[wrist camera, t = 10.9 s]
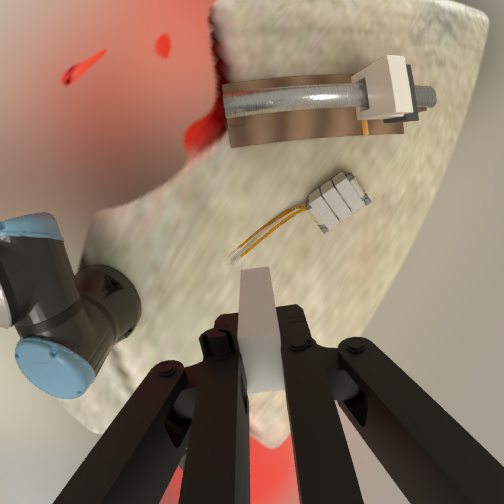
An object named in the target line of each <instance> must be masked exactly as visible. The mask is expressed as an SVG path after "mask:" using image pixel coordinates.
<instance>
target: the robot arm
mask: <svg viewBox="0 0 504 504" xmlns="http://www.w3.org/2000/svg"><path fill="white" fill-rule="evenodd" d="M63 242H64V239H63V238H62V237H61V234H60V231H59V228H58V225H57V222H56V220H55V218H54V217H53V216H52V215H51V214H49V213H46V212H42V213H35V214H30V215H25V216H21V217H17V218H13V219H9V220H6V221H4V222H0V327H2V328H5V329H8V328H10V327H12V326H13V325H14V326H15V328H16V330H17V332H18V334H19V336H20V338H21V340H20V341H19V342H18V343H17V346H16V349H15V359H16V362H17V364H18V366H19V368H20V370H21V371H22V373H23V374H24V375H25V377H26V378H27V379H28V380H29V381H30V382H31V383H33V384H34V385H35V386H36V387H38V388H39V389H41V390H42V391H44V392H46V393H48V394H50V395H52V396H55V397H58V398H62V399H74V398H77V397H80V396H81V395H83V394H84V393H85V392H86V390H87V389H88V387H89V386H90V384H92V383H93V382H94V380H95V378H96V376H97V374H98V372H99V370H100V368H101V367H102V365H103V363H104V361H105V359H106V358H107V356H108V354H109V352H110V350H111V349H112V347H113V345H115V344H117V343H118V342H120V341H122V340H123V339H125V338H127V337H128V336H129V335H130V334H131V333H132V332H133V331H134V329H135V327H136V326H137V324H138V322H139V320H140V316H141V304H140V299H139V296H138V294H137V292H136V290H135V288H134V286H133V285H132V284H131V282H130V281H129V280H128V279H127V278H126V277H125V276H124V275H122V274H121V273H120V272H118V271H117V270H115V269H113V268H110V267H107V266H103V265H91V266H88V267H85V268H83V269H82V270H80V271H79V272H78V273H77V274H76V275H75V276H74V273H73V271H72V268H71V265H70V262H69V259H68V256H67V253H66V250H65V247H64V243H63ZM199 341H200V345H201V349H202V352H203V356H204V357H203V361H202V362H200V363H198V364H195V365H192V366H189V367H185V368H184V366H183V364H182V363H181V362H179V361H175V360H167V361H163V362H160V363H159V364H157V365H155V366H154V367H153V368H152V369H151V370H150V372H149V373H148V374H147V376H146V377H145V378H144V380H143V381H142V382H141V384H140V385H139V386H138V388H137V389H136V390H135V392H134V393H133V394H132V396H131V397H130V399H129V400H128V401H127V403H126V404H125V405H124V407H123V408H122V409H121V411H120V412H119V413H118V415H117V416H116V417H115V419H114V420H113V422H112V423H111V424H110V426H109V427H108V428H107V430H106V431H105V432H104V434H103V435H102V437H101V438H100V439H99V441H98V442H97V443H96V445H95V446H94V447H93V449H92V450H91V452H90V453H89V454H88V456H87V457H86V458H85V460H84V461H83V462H82V464H81V465H80V467H79V468H78V469H77V471H76V472H75V473H74V475H73V476H72V478H71V479H70V480H69V482H68V483H67V485H66V486H65V487H64V489H63V490H62V491H61V493H60V494H59V496H58V497H57V498H56V500H55V501H54V503H53V504H159V502H160V500H161V498H162V496H163V495H164V493H165V491H166V489H167V487H168V485H169V482H170V481H171V479H172V477H173V475H174V472H175V470H176V469H177V467H178V465H179V462H180V460H181V458H182V456H183V454H184V452H185V450H186V448H187V453H186V459H185V465H184V471H183V478H182V484H181V490H180V497H179V503H178V504H250V447H249V400H248V396H247V389H248V394H250V393H259V392H268V391H276V390H284V389H285V391H286V400H287V410H288V415H289V422H290V430H291V437H292V444H293V453H294V460H295V467H296V476H297V483H298V492H299V500H300V504H364V502H363V499H362V495H361V491H360V488H359V484H358V480H357V477H356V473H355V470H354V466H353V462H352V459H351V455H350V452H349V448H348V445H347V441H346V438H345V435H344V431H343V428H342V424H341V421H340V418H339V414H338V411H337V407H336V404H335V401H334V400H337V402H338V405H339V406H340V407H341V409H342V410H343V412H344V413H345V414H346V416H347V417H348V419H349V420H350V421H351V423H352V424H353V426H354V427H355V428H356V430H357V431H358V432H359V434H360V435H361V437H362V438H363V439H364V441H365V442H366V444H367V445H368V446H369V448H370V449H371V450H372V452H373V453H374V454H375V456H376V457H377V459H378V460H379V461H380V463H381V464H382V465H383V466H384V468H385V469H386V471H387V472H388V474H389V475H390V476H391V478H392V479H393V480H394V482H395V483H396V484H397V486H398V487H399V489H400V490H401V491H402V492H403V494H404V495H405V497H406V498H407V499H408V501H409V502H410V503H411V504H504V467H503V466H502V465H501V464H500V463H499V462H498V461H497V460H496V459H495V458H494V457H493V456H492V455H491V454H490V453H489V452H488V451H487V450H486V449H485V448H484V447H483V446H482V445H481V444H480V443H478V442H477V441H476V440H475V439H474V438H473V437H472V436H471V435H470V434H469V433H468V432H467V431H466V430H465V429H464V428H463V427H462V426H461V425H460V424H459V423H458V422H456V420H455V419H453V418H452V417H451V416H450V415H449V414H448V413H447V412H446V411H445V410H444V409H443V408H442V407H441V406H440V405H439V404H438V403H437V402H436V401H434V400H433V399H432V398H431V397H430V396H429V395H428V394H427V393H426V392H425V391H424V390H423V389H422V388H421V387H420V386H419V385H418V384H417V383H415V382H414V381H413V380H412V379H411V378H410V377H409V376H408V375H407V374H406V373H405V372H404V371H403V370H402V369H401V368H399V367H398V366H397V365H396V364H395V363H394V362H393V361H392V360H391V359H390V358H389V357H388V356H387V355H386V354H384V353H383V352H382V351H381V350H380V349H379V348H378V347H377V346H376V345H375V344H374V343H373V342H372V341H370V340H368V339H366V338H362V337H351V338H347V339H345V340H343V341H341V343H340V344H339V345H338V348H327V347H322V346H320V345H318V344H317V343H316V341H315V340H314V339H313V338H312V337H311V333H310V330H309V327H308V324H307V321H306V318H305V314H304V311H303V309H302V308H301V307H300V306H298V305H297V304H295V305H288V306H280V307H275V301H274V295H273V289H272V282H271V276H270V271H269V267H262V268H255V269H247V270H241V279H240V297H239V313H231V314H222V315H220V316H219V317H218V318H217V319H216V320H215V324H214V328H212V329H210V330H207V331H205V332H204V333H203V334H201V336H200V337H199ZM187 446H188V447H187Z"/></svg>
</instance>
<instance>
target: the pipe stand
mask: <svg viewBox="0 0 504 504" xmlns="http://www.w3.org/2000/svg"><path fill="white" fill-rule="evenodd" d="M353 75H355V74H335V75H310V76H294V77H281V78H271V79H261V80H253V81H245V82H237V83H230V84H224V85H222V88H223V94H229V93H236V92H243V91H251V90H259V89H268V88H278V87H289V86H302V85H319V84H352V80H351V77H352V76H353ZM417 109H418V112H420V111H427V108H426V107H417ZM227 123H228V130H229V137H230V144H231V148H235V147H242V146H250V145H257V144H265V143H273V142H282V141H292V140H302V139H313V138H325V137H339V136H355V135H378V134H404V128H403V122H398V123H383V119H372V120H357V114H356V107H338V108H320V109H305V110H293V111H283V112H273V113H264V114H256V115H248V116H241V117H234V118H227Z"/></svg>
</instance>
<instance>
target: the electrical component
mask: <svg viewBox="0 0 504 504" xmlns="http://www.w3.org/2000/svg"><path fill="white" fill-rule="evenodd" d="M332 180H333V182H332V181H331V180H329V181H328V182H326V183H325V184H323V185H322V186H321V187H320V189H321V190H320V189H319V188H318V189H316V190H315V191H313V192H312V193H311V194H309V195H308V196H309V199H308V201H307V204H306V206H299V207H296V208H294V209H291V210H288V211H285V212H284V213H282V214H281V215H279V216H278V217H276V218H275V219H273V220H272V221H270V222H269V223H270V224H271V223H273V222H274V221H276V220H278V219H279V218H281V217H283V216H285V215H286V214H288V213H290V212H292V211H293V210H295V209H297V208H301V210H299V211H296V212H294V213H292V214H291V215H290V216H288V217H287V218H286V219H284V220H283V221H281V222H280V223H279V224H277V225H276V226H275V227H273V228H272V229H271V230H269V231H268V232H267V233H266V234H265V235H264V236H262V237H261V238H260V239H259V240H258V241H257V242H255V243H254V244H253V245H252V246H251V247H250V248H248V249H247V250H246V251H245V252H244V253H243V254H241V255H240V256H239V257H238V258H237V259H236V260H235V261H234V262H233V263H231V265H232V264H234V263H235V262H236V261H237V260H239V259H240V258H241V257H242V256H244V255H245V254H246V253H247V252H249V251H250V250H251V249H252V248H253V247H255V246H256V245H257V244H258V243H259V242H261V241H262V240H263V239H264V238H265V237H267V236H268V235H269V234H270V233H271V232H273V231H274V230H275V229H276V228H278V227H279V226H280V225H282V224H283V223H285V222H286V221H287V220H289V219H290V218H292V217H293V216H294V215H296V214H297V213H300V212H302V211H305V210H306V211H307V212H308V213H309V214H310V215H311V216H312V217H313V219H314V220H315V221H316V222H317V223H318V224H319V225H318V226H319V227H320V229H321V230H322V231H323V233H324V234H325V233H326V232H327V231H328V230H329V229H331V228H332V227H334V226H335V225H337V224H338V223H340V221H339V219H340V220H341V221H343V220H344V219H346V218H347V217H349V216H350V215H352V211H353V212H354V213H355V212H356V211H358V210H359V209H361V208H362V207H364V206H365V205H366V206H367V205H368V204H370V203H371V200H370V199H369V197H368V196H367V194H366V193H365V191H364V190H362V188H361V187H360V185H359V184H358V182H357V181H356V179H355V176H353V174H352V173H348V174H344V173H343V172H341V173H339V174H338V175H336V176H335V177H333V178H332ZM333 183H334V184H333ZM363 201H365V204H364V202H363ZM351 209H352V211H351ZM269 223H267V224H266V225H267V226H268V225H270V224H269ZM266 225H264V226H263V227H264V228H265V227H266ZM263 227H261V228H260V229H259V230H262V228H263ZM259 230H257V231H256V232H255V233H254V234H253V235H252V236H250V237H249V238H248V239H247V240H248V241H249V240H250V239H251V238H252V237H253V236H254V235H255V234H257V233H258V231H259ZM247 240H246V241H245V242H243V243H242V244H241V245H240V246H239V247H238V248H237V249H236V250H235V251H234V252H233V253H231V254H230V255H229V257H230V256H231V255H233V254H234V253H235V252H236V251H237V250H238V249H239V248H241V247H242V246H243V245H244V244H246V243H247V242H248V241H247Z"/></svg>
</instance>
